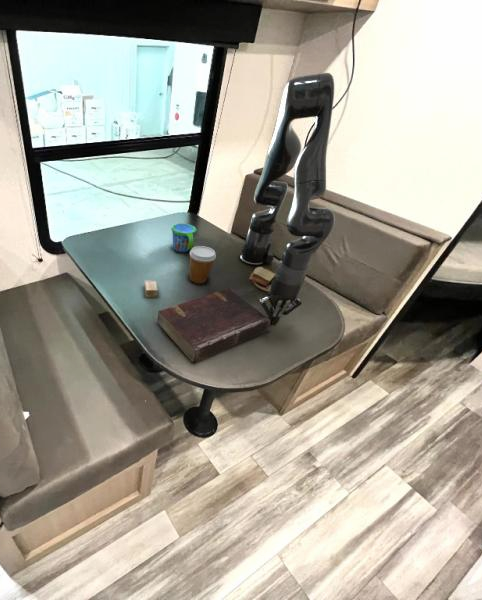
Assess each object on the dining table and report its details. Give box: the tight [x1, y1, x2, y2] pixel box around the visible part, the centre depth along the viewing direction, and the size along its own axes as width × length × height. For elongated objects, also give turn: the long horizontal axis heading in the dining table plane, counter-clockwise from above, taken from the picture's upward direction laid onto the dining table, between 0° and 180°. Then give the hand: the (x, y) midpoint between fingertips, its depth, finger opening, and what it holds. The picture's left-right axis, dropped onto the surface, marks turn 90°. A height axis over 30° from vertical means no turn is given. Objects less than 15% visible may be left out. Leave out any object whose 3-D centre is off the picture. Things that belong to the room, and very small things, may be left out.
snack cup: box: [170, 222, 197, 253], centre depth 139 cm, size 16×10×10 cm
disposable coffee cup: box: [189, 245, 217, 284], centre depth 118 cm, size 10×10×12 cm
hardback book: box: [156, 288, 271, 363], centre depth 98 cm, size 29×19×5 cm, turn 118°
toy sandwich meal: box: [249, 266, 276, 293], centre depth 119 cm, size 12×14×5 cm
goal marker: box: [143, 280, 159, 298], centre depth 113 cm, size 4×6×3 cm, turn 3°
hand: (271, 323), depth 99 cm, fingers closed
